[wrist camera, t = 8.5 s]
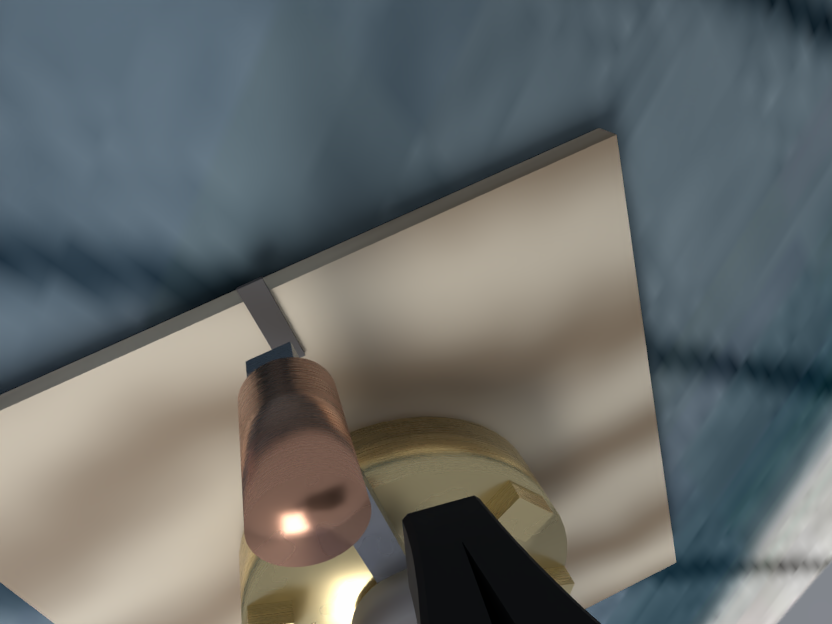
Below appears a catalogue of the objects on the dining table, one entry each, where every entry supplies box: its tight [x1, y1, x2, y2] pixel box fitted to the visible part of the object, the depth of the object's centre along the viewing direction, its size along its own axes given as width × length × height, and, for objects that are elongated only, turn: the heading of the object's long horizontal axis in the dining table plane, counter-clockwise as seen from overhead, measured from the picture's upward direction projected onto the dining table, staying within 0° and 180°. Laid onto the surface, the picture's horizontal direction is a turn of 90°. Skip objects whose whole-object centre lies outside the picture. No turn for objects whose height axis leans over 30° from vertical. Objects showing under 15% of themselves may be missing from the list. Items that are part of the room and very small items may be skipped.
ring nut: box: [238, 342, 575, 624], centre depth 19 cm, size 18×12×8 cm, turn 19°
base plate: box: [0, 128, 676, 624], centre depth 22 cm, size 24×24×6 cm
